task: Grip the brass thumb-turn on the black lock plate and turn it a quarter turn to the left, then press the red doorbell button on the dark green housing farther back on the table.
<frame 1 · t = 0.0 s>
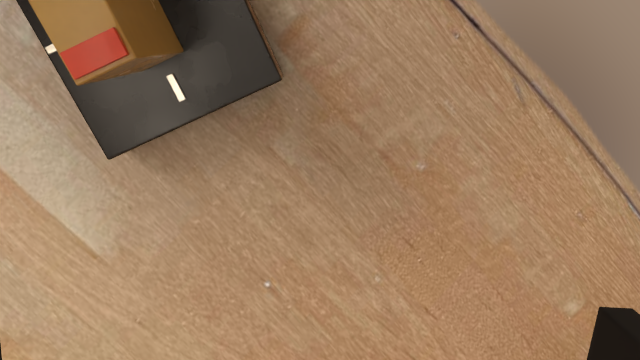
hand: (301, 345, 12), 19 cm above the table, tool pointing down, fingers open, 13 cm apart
lock plate: (149, 10, 28), on the table
lock turn: (105, 3, 22), point 7 cm above the table, hinge at 0.0°
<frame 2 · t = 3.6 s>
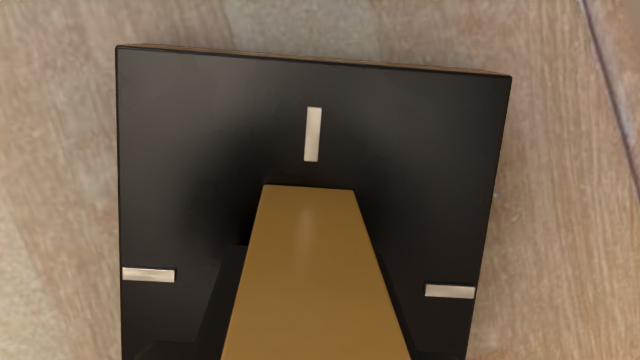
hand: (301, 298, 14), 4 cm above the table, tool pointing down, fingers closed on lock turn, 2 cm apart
lock plate: (301, 246, 17), on the table
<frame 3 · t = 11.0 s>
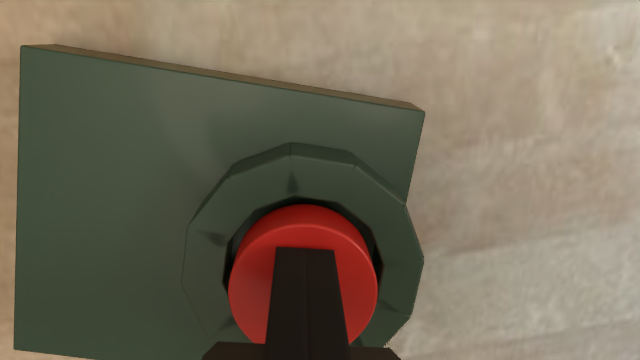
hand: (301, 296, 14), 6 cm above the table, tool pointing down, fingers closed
bell button: (303, 280, 15), point 4 cm above the table, slide at 0.0 cm, touching gripper
bell housing: (219, 214, 19), on the table
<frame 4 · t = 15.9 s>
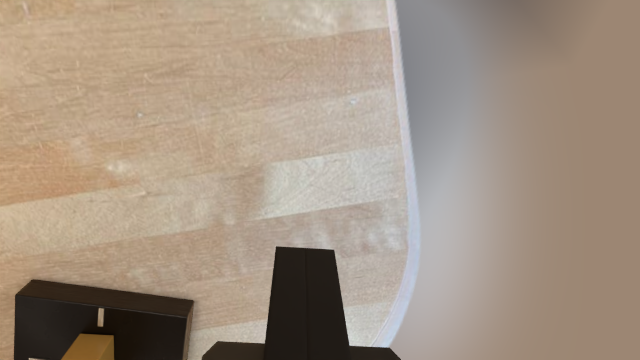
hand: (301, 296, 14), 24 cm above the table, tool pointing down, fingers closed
lock plate: (109, 347, 41), on the table
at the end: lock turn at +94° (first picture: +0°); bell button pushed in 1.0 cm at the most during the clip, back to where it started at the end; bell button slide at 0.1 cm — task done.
